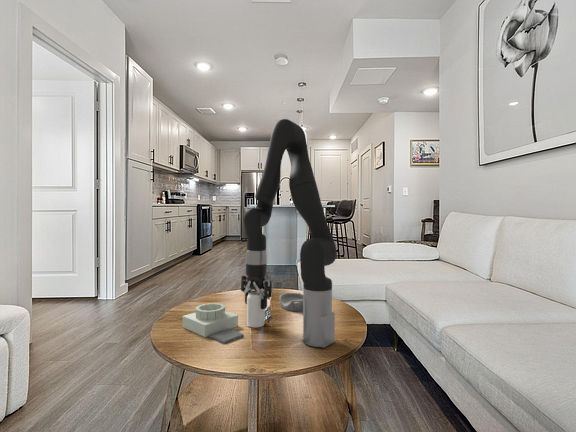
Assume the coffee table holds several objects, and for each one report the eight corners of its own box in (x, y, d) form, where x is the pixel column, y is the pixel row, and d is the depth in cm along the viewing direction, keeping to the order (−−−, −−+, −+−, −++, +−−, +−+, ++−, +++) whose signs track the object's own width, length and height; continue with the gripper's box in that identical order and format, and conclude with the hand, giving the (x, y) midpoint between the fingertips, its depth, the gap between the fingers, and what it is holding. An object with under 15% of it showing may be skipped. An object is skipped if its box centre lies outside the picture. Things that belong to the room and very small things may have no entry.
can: (266, 322, 118) (266, 290, 117) (262, 328, 111) (263, 294, 111) (249, 321, 118) (249, 290, 118) (245, 328, 112) (245, 294, 112)
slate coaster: (243, 336, 104) (243, 334, 104) (223, 343, 98) (223, 341, 98) (228, 330, 109) (228, 328, 109) (209, 337, 103) (209, 334, 103)
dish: (301, 314, 128) (301, 302, 128) (272, 309, 135) (273, 297, 135) (316, 305, 140) (316, 294, 140) (289, 301, 147) (289, 290, 147)
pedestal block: (238, 326, 114) (238, 306, 114) (204, 337, 103) (204, 316, 103) (215, 317, 123) (215, 299, 123) (182, 327, 112) (182, 307, 112)
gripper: (277, 263, 113) (276, 308, 113) (251, 258, 122) (250, 300, 123) (262, 266, 107) (261, 313, 107) (235, 261, 117) (235, 304, 117)
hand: (255, 306), depth 115 cm, fingers open, 8 cm apart
